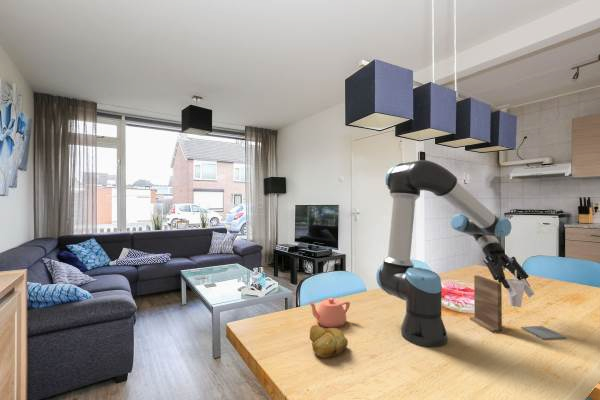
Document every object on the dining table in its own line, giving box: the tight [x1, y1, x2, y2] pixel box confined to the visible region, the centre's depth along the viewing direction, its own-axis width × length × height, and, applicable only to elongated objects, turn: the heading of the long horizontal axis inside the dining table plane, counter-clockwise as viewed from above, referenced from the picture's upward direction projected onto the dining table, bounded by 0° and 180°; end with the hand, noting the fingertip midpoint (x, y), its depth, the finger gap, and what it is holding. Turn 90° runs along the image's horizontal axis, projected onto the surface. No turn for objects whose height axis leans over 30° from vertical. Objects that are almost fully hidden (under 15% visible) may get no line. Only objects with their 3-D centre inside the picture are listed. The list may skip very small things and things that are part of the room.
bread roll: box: [309, 324, 349, 359], centre depth 92 cm, size 13×10×8 cm
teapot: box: [307, 297, 351, 328], centre depth 115 cm, size 12×18×10 cm
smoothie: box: [507, 270, 526, 308], centre depth 113 cm, size 6×6×14 cm
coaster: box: [520, 325, 567, 340], centre depth 105 cm, size 9×9×1 cm
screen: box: [469, 274, 508, 334], centre depth 111 cm, size 6×12×18 cm, turn 6°
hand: (523, 295), depth 109 cm, fingers closed on smoothie, 6 cm apart
